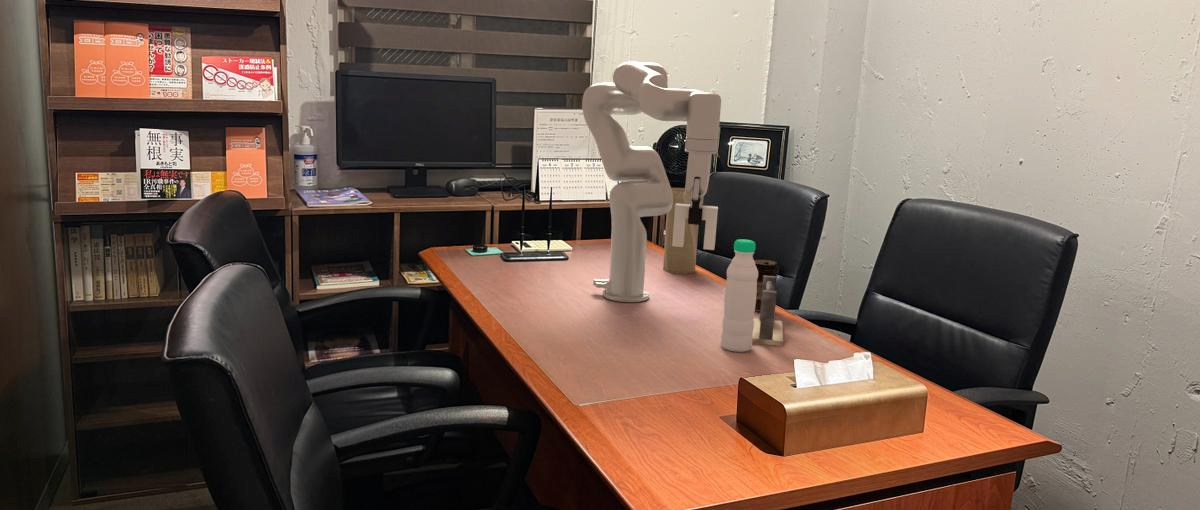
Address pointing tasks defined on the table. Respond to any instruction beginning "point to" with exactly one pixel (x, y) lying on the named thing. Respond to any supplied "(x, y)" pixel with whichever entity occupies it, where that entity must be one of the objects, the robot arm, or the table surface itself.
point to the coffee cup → (763, 269)
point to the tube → (684, 256)
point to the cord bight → (707, 214)
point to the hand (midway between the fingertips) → (695, 222)
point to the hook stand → (768, 317)
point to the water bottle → (740, 298)
